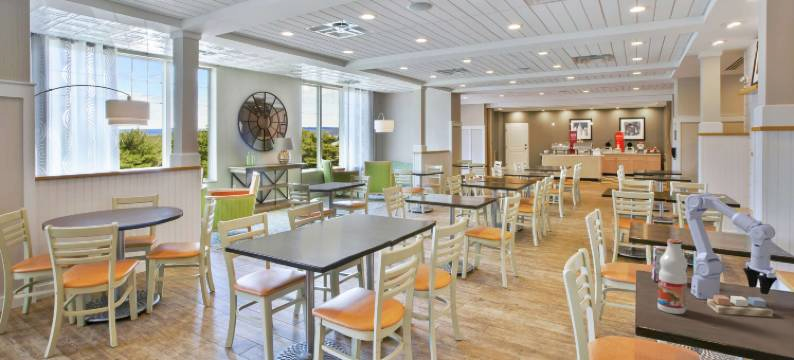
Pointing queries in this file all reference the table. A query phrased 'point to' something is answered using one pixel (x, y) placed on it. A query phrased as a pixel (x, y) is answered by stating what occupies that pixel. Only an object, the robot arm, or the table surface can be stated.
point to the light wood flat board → (740, 309)
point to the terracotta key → (721, 300)
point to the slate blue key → (756, 302)
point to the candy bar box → (657, 261)
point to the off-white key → (739, 301)
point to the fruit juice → (672, 279)
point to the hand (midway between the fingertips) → (758, 290)
